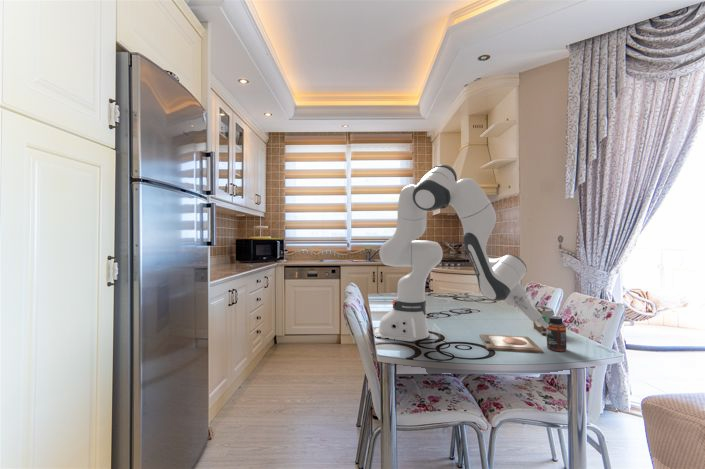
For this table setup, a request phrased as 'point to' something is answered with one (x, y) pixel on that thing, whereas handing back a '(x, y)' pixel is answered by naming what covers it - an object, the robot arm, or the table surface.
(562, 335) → the supplement bottle
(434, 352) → the table surface
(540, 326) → the food container
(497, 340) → the clipboard
